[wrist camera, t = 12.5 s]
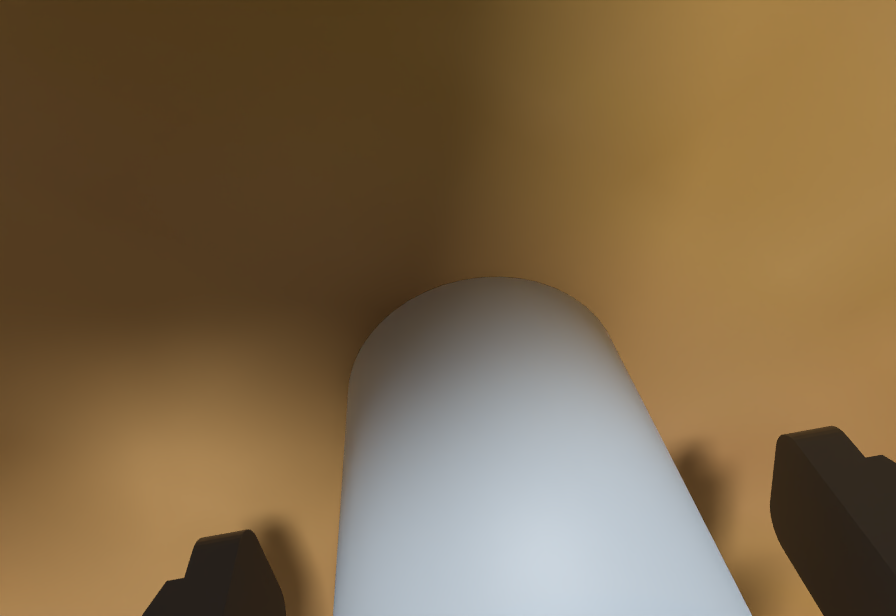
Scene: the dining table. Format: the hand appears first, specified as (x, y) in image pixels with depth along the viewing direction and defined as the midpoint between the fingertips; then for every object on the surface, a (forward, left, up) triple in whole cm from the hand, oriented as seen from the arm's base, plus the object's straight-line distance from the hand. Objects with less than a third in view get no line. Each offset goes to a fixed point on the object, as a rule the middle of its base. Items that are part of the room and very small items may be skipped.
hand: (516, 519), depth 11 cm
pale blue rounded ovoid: (0, 0, -3) cm, 3 cm away
